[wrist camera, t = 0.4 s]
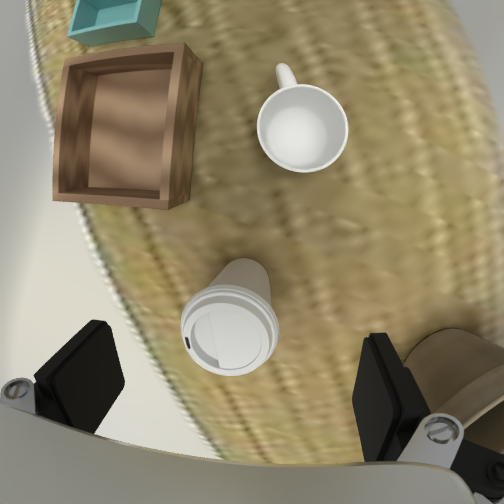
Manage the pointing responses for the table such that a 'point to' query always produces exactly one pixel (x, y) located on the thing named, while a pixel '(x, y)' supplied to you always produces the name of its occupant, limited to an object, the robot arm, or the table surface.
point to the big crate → (127, 127)
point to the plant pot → (463, 383)
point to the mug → (301, 125)
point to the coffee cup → (232, 320)
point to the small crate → (113, 20)
